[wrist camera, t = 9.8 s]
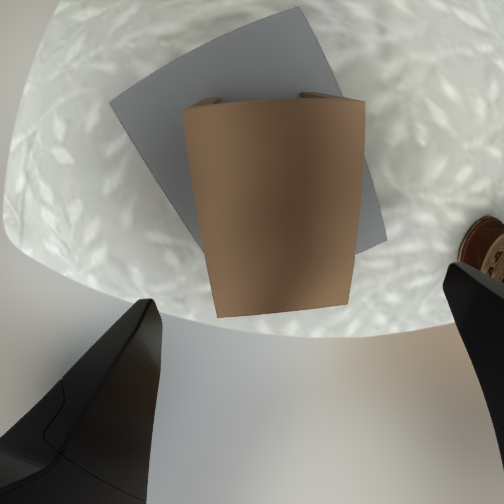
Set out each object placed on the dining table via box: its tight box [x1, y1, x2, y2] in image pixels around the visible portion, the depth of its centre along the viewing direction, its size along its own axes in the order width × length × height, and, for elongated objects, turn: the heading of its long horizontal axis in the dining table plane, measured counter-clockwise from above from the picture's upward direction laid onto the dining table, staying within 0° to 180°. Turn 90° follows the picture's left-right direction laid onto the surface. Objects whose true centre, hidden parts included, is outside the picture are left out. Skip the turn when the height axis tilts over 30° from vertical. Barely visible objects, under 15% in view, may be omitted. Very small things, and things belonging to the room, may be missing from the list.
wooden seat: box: [182, 92, 365, 318], centre depth 16 cm, size 7×10×7 cm
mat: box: [109, 7, 387, 255], centre depth 19 cm, size 18×13×1 cm
